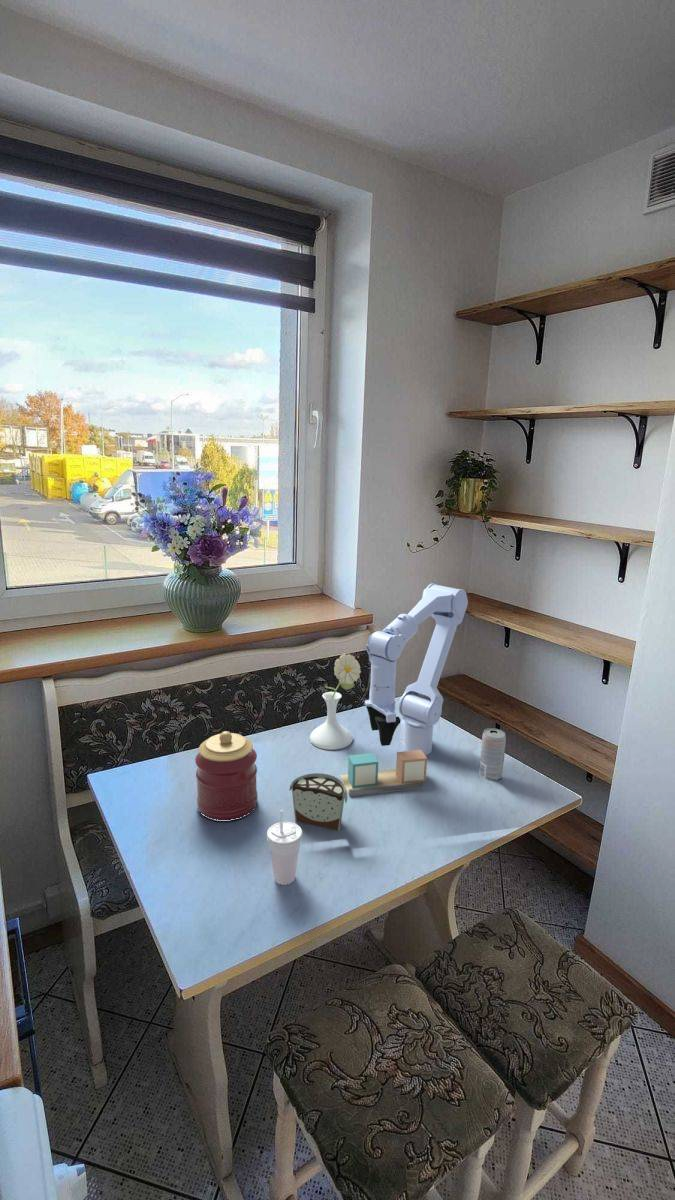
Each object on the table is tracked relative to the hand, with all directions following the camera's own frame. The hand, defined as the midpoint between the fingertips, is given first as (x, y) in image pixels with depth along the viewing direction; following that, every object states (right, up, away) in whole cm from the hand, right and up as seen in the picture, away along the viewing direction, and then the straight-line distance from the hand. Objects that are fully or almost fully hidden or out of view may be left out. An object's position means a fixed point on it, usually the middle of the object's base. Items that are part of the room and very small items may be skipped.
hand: (380, 737), depth 142 cm
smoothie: (-20, -19, -32) cm, 42 cm away
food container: (-13, -15, -15) cm, 25 cm away
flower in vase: (-11, -6, +18) cm, 22 cm away
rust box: (+7, -10, 0) cm, 12 cm away
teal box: (-4, -10, -2) cm, 11 cm away
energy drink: (+26, -11, +3) cm, 29 cm away
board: (0, -11, -1) cm, 11 cm away
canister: (-34, -13, -10) cm, 38 cm away
